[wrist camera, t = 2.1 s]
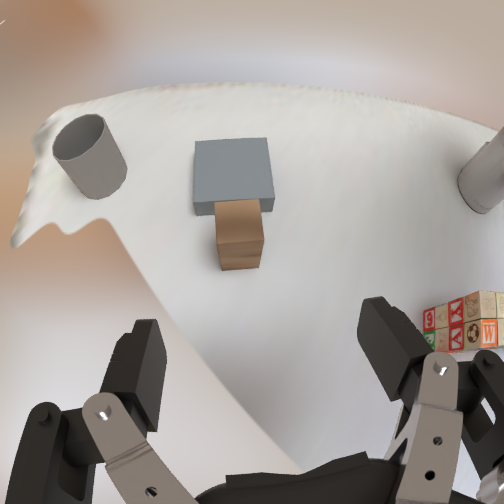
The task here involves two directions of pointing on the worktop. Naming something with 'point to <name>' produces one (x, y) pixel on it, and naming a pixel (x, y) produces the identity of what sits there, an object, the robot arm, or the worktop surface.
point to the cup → (90, 156)
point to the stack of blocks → (466, 323)
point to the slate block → (232, 173)
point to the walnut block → (239, 234)
